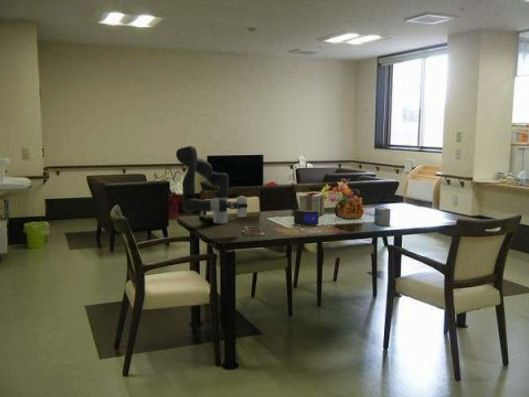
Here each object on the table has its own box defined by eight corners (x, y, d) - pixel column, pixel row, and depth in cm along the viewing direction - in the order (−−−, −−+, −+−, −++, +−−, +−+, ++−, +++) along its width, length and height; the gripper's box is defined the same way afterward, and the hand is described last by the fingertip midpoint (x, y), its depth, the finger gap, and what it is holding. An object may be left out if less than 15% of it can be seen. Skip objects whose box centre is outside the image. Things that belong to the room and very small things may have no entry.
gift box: (300, 212, 404) (301, 189, 402) (324, 213, 398) (325, 191, 396) (294, 215, 388) (295, 192, 386) (319, 217, 382) (319, 193, 380)
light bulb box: (373, 222, 363) (374, 206, 362) (382, 222, 365) (383, 206, 363) (381, 225, 353) (381, 209, 351) (390, 224, 354) (390, 208, 353)
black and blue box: (293, 224, 350) (293, 210, 348) (294, 223, 354) (294, 209, 353) (317, 225, 347) (318, 211, 346) (318, 224, 352) (318, 210, 350)
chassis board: (242, 231, 324) (242, 225, 323) (259, 231, 326) (259, 224, 326) (246, 235, 311) (246, 229, 311) (264, 235, 314) (264, 228, 313)
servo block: (236, 215, 316) (237, 195, 314) (245, 215, 317) (245, 195, 315) (238, 216, 311) (238, 196, 309) (246, 216, 312) (246, 196, 310)
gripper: (219, 200, 303) (248, 200, 306) (216, 197, 317) (244, 197, 320) (219, 213, 304) (248, 213, 307) (216, 209, 318) (244, 209, 321)
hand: (246, 204), depth 314 cm, fingers closed on servo block, 5 cm apart
